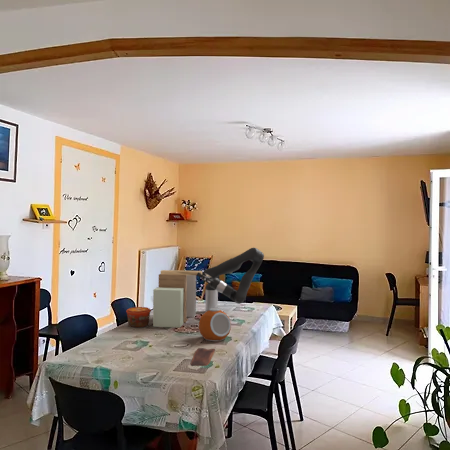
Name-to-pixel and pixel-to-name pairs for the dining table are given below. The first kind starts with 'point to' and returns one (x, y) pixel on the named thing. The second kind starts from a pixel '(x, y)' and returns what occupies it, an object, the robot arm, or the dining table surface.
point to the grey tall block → (191, 296)
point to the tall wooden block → (175, 282)
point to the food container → (138, 317)
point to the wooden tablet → (202, 357)
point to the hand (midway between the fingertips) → (198, 272)
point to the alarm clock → (214, 325)
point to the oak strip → (179, 272)
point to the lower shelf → (167, 307)
